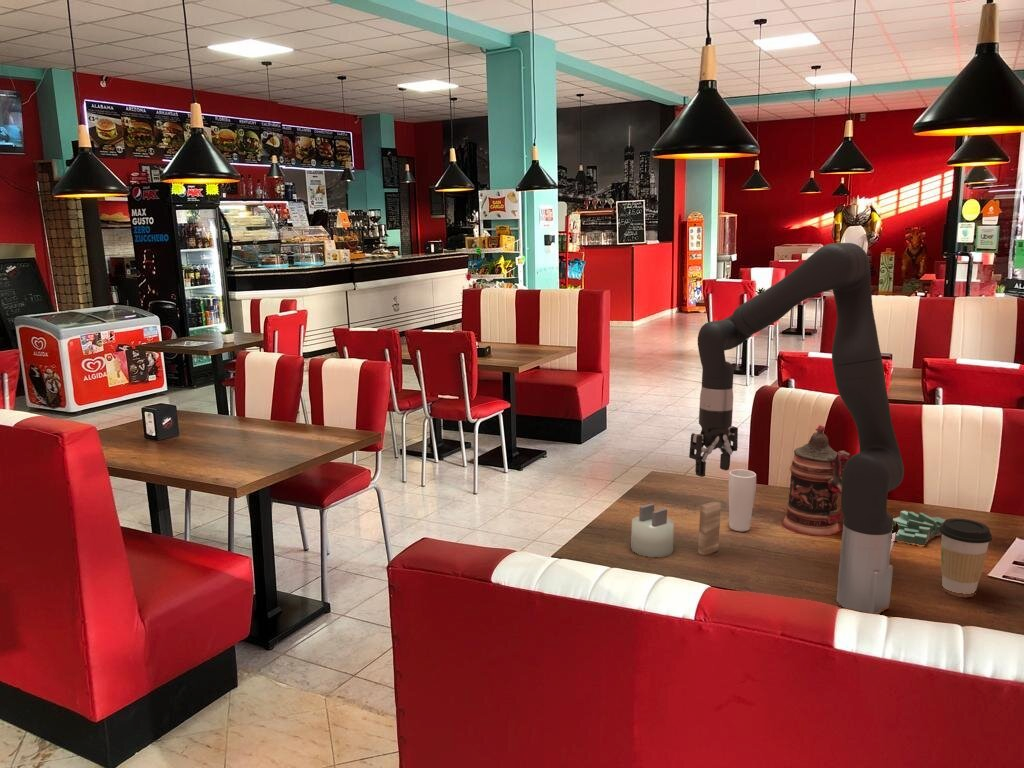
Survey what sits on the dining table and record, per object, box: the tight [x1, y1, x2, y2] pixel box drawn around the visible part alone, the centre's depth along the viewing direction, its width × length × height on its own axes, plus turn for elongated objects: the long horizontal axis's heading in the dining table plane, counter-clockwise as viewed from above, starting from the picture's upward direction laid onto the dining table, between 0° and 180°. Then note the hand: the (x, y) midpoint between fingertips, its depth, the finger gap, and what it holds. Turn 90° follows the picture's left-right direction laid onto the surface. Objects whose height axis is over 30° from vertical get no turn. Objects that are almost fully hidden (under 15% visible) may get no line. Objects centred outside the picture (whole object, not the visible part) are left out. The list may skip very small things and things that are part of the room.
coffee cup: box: [939, 517, 993, 594], centre depth 173 cm, size 10×10×15 cm
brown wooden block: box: [697, 500, 722, 556], centre depth 194 cm, size 2×5×12 cm, turn 126°
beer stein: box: [781, 424, 851, 537], centre depth 208 cm, size 17×28×18 cm
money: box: [893, 510, 946, 545], centre depth 207 cm, size 20×16×5 cm
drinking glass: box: [727, 468, 757, 533], centre depth 208 cm, size 7×7×15 cm
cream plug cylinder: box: [630, 502, 675, 558], centre depth 195 cm, size 10×10×10 cm
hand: (712, 472), depth 191 cm, fingers open, 8 cm apart
